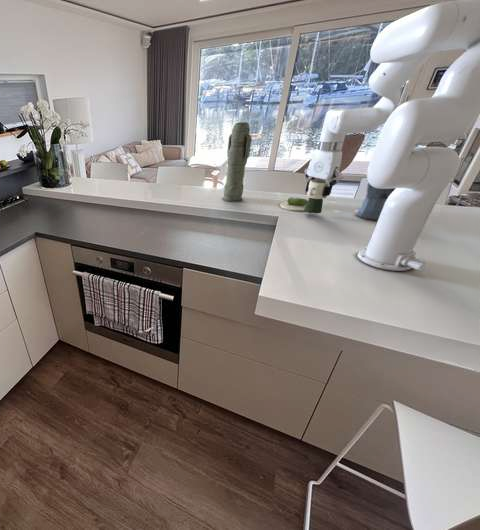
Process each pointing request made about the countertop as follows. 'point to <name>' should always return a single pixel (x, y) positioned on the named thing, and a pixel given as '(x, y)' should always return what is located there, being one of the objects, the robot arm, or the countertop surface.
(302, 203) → the pickle
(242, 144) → the green cactus figure
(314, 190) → the character mug
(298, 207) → the plate
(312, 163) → the robot arm
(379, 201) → the moka pot
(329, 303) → the countertop surface
